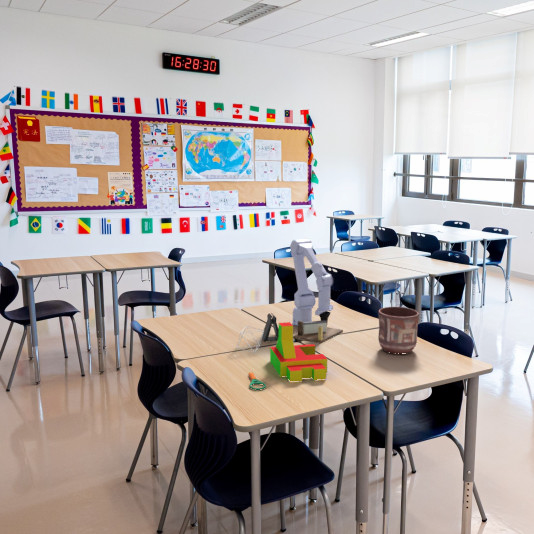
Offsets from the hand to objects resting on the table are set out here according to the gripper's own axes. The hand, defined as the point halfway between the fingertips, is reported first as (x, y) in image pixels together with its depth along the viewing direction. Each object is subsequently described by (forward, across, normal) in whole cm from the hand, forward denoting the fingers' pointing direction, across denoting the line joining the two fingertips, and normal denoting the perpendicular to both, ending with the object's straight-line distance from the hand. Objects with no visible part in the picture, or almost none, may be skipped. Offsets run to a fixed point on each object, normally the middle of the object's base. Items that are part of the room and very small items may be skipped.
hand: (323, 326), depth 278 cm
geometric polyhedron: (+3, -40, +16) cm, 43 cm away
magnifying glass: (+3, -72, -10) cm, 73 cm away
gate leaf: (+2, -6, +2) cm, 6 cm away
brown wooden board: (+3, -4, +1) cm, 5 cm away
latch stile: (+2, -14, -6) cm, 15 cm away
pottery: (+4, -6, -40) cm, 40 cm away
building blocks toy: (+4, -51, -16) cm, 53 cm away
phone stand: (+3, -23, +16) cm, 28 cm away
